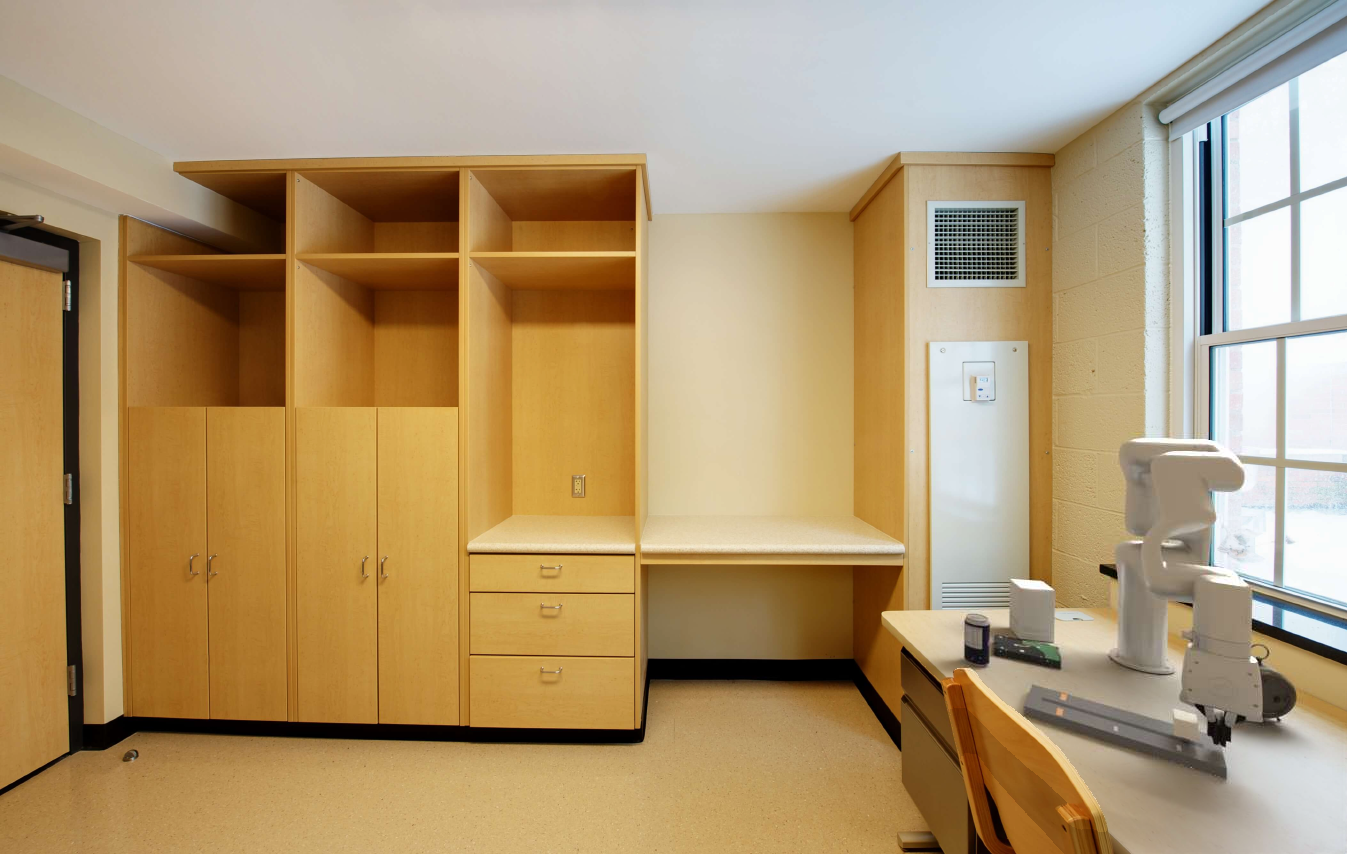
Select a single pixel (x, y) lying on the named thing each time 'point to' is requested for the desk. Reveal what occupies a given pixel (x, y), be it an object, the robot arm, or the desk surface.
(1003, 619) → the desk surface
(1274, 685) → the alarm clock
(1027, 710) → the fader console
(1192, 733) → the fader knob
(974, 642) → the beverage can
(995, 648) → the disk drive
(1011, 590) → the supplement box
